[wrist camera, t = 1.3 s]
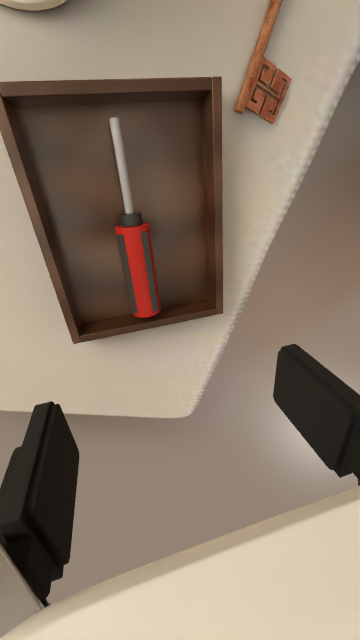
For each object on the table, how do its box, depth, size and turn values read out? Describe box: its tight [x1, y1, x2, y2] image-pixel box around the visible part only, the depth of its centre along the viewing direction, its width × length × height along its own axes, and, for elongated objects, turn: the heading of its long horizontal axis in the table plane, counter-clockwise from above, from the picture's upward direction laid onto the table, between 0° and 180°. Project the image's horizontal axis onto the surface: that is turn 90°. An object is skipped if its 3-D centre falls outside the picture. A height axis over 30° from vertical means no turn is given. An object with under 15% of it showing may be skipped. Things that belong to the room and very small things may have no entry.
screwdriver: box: [109, 117, 161, 318], centre depth 24 cm, size 17×3×3 cm, turn 5°
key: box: [235, 0, 291, 124], centre depth 21 cm, size 6×1×15 cm
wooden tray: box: [0, 77, 223, 344], centre depth 25 cm, size 21×17×3 cm
